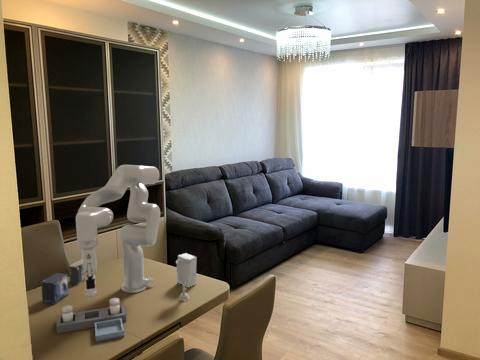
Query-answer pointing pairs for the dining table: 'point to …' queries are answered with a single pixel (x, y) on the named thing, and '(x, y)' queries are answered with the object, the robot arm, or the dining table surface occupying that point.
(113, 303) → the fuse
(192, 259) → the skincare box
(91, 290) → the white striped cylinder
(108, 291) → the dining table surface
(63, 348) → the dining table surface
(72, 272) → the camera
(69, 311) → the fuse
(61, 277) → the small box
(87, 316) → the fuse block
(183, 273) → the chalice
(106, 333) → the tray
